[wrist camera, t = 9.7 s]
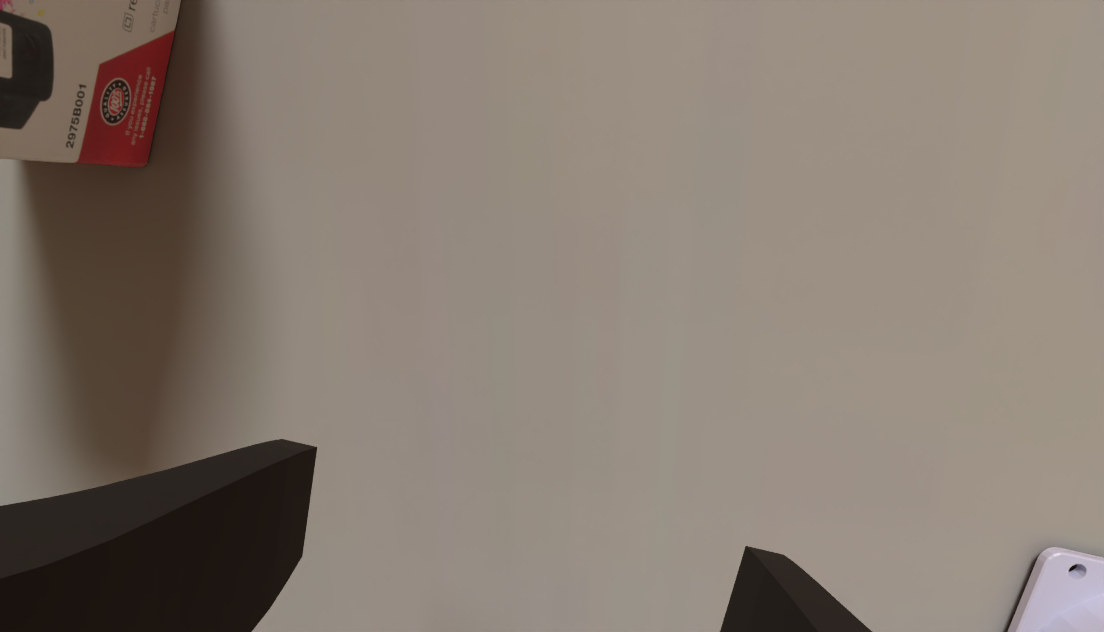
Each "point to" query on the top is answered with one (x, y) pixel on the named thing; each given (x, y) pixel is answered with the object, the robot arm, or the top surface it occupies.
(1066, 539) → the top surface
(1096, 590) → the robot arm
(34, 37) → the ink box
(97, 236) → the top surface
